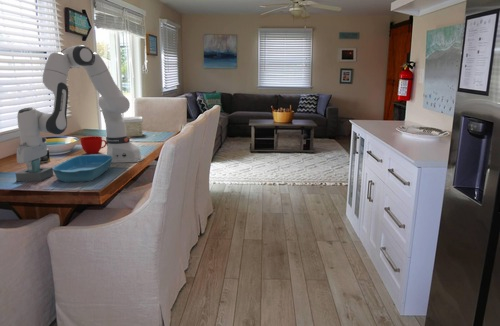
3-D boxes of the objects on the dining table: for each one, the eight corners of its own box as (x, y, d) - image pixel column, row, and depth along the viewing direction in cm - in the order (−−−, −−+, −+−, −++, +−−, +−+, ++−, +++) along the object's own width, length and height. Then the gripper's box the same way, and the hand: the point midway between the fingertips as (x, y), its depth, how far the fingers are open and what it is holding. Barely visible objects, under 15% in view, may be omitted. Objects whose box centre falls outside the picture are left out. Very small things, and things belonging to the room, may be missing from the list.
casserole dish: (92, 184, 192) (91, 170, 191) (46, 184, 193) (44, 170, 191) (118, 166, 228) (117, 153, 226) (79, 166, 228) (78, 153, 227)
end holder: (53, 175, 209) (52, 167, 208) (40, 181, 197) (39, 173, 196) (31, 174, 210) (30, 167, 209) (16, 181, 198) (15, 173, 197)
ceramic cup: (101, 155, 253) (100, 140, 251) (77, 154, 257) (75, 139, 254) (112, 151, 266) (111, 136, 264) (89, 150, 269) (87, 136, 267)
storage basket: (112, 138, 317) (111, 119, 314) (113, 135, 332) (112, 117, 329) (143, 136, 323) (142, 118, 320) (143, 133, 339) (142, 116, 335)
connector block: (40, 172, 205) (39, 158, 203) (36, 174, 201) (34, 160, 199) (33, 172, 205) (31, 158, 203) (28, 174, 201) (26, 160, 199)
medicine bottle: (37, 163, 236) (34, 142, 233) (34, 160, 241) (32, 141, 238) (50, 161, 240) (47, 141, 237) (48, 159, 245) (45, 139, 243)
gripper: (23, 145, 189) (27, 173, 192) (48, 137, 209) (51, 163, 212) (11, 145, 189) (15, 173, 192) (36, 137, 209) (39, 163, 212)
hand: (34, 168), depth 202 cm, fingers closed on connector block, 4 cm apart
